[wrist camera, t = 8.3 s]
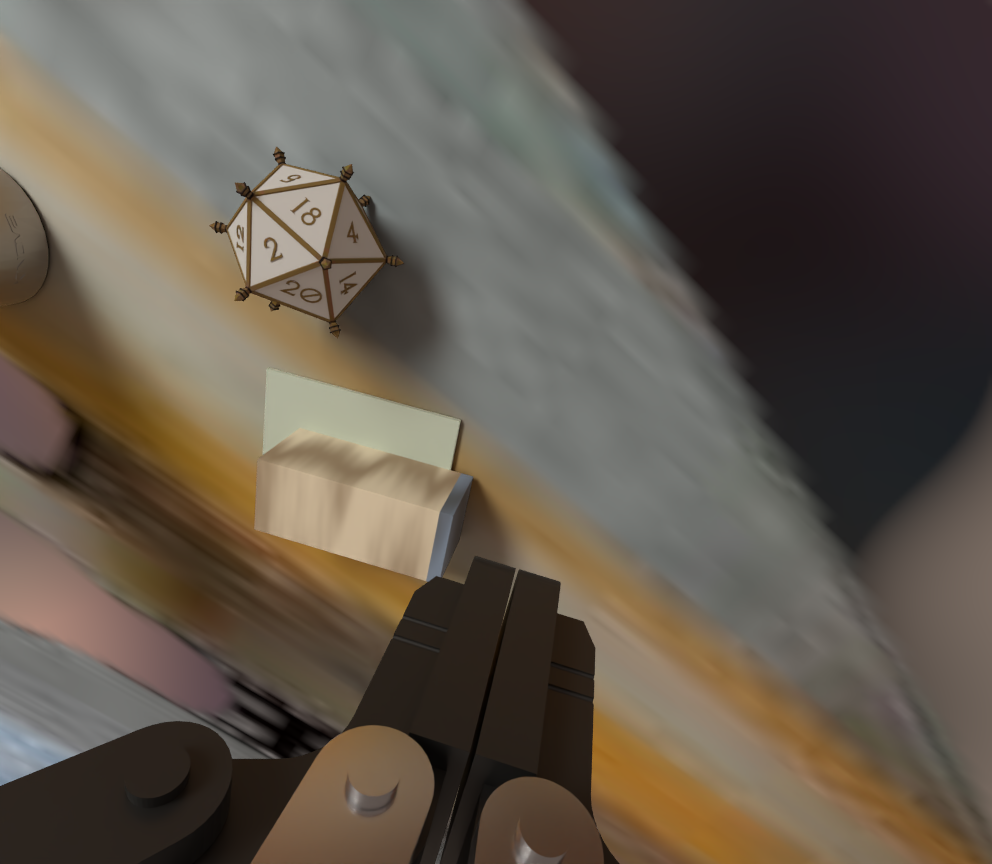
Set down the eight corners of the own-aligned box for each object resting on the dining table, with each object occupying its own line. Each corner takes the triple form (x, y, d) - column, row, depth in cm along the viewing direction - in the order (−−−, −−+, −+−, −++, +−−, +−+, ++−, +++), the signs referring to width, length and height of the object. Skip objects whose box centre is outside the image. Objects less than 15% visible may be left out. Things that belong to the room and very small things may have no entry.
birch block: (459, 540, 40) (295, 491, 41) (473, 476, 38) (299, 427, 39) (438, 584, 35) (254, 529, 36) (453, 515, 33) (257, 459, 34)
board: (261, 521, 43) (259, 523, 42) (269, 367, 38) (266, 368, 37) (430, 571, 41) (429, 574, 41) (461, 419, 37) (459, 421, 36)
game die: (395, 227, 37) (455, 262, 29) (306, 329, 37) (342, 390, 29) (275, 107, 31) (309, 108, 23) (172, 228, 31) (172, 270, 24)
